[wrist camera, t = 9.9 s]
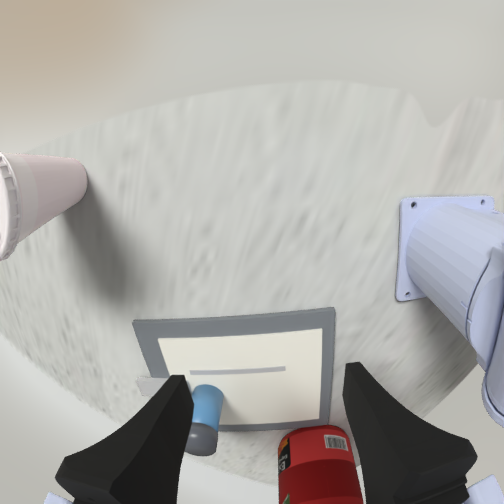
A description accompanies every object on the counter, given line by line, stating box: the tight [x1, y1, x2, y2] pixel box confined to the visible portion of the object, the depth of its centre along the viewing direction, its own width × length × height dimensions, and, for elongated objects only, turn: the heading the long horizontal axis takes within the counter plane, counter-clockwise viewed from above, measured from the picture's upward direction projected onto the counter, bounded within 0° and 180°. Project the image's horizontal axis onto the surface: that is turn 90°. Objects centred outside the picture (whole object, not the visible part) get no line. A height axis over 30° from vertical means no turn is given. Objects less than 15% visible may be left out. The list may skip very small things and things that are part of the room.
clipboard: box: [132, 307, 335, 431], centre depth 24 cm, size 18×14×1 cm
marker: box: [185, 384, 224, 456], centre depth 22 cm, size 3×3×6 cm
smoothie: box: [0, 152, 87, 261], centre depth 13 cm, size 6×6×14 cm
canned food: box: [278, 425, 363, 504], centre depth 23 cm, size 8×8×11 cm
